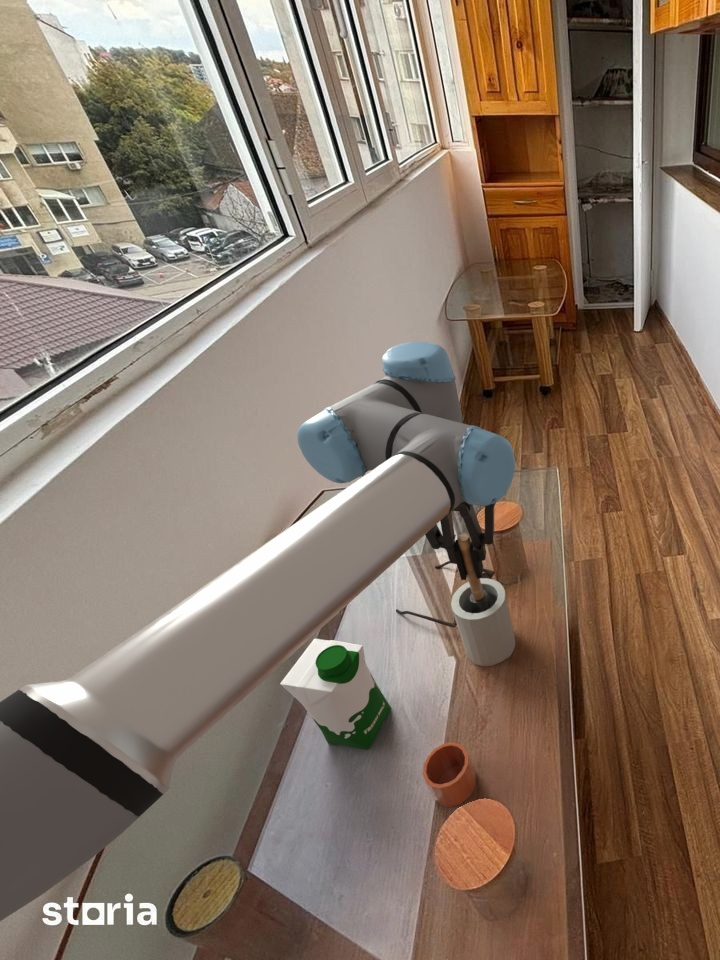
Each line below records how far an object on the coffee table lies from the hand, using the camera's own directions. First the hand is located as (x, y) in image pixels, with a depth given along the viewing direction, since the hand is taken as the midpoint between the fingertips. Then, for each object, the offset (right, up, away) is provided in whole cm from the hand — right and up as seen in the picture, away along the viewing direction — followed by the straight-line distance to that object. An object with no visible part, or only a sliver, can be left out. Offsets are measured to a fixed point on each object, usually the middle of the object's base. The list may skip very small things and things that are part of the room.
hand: (472, 572), depth 84 cm
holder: (0, -31, -7) cm, 32 cm away
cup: (-1, -16, +12) cm, 20 cm away
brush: (0, -9, +7) cm, 12 cm away
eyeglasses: (-12, -9, +21) cm, 26 cm away
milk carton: (-18, -25, 0) cm, 31 cm away
